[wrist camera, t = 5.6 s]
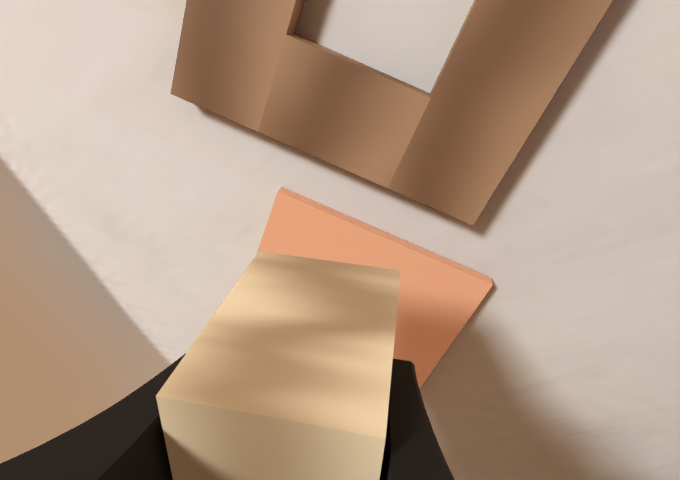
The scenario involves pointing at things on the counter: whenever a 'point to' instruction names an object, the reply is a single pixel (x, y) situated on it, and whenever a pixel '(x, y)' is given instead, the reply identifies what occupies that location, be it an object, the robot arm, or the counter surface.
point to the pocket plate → (388, 92)
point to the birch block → (287, 376)
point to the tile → (386, 252)
